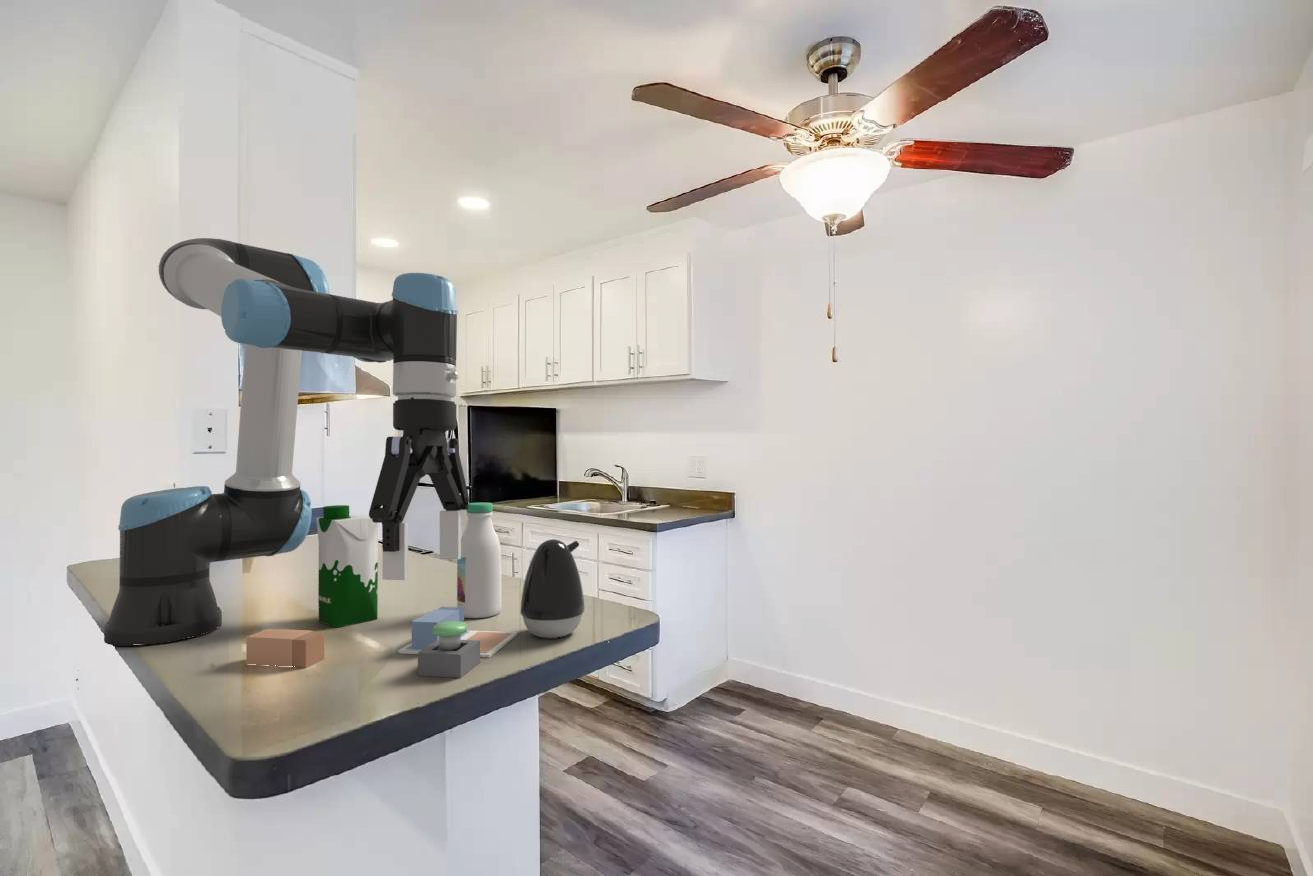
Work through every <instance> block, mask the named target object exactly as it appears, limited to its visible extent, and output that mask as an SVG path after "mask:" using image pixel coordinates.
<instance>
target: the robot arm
mask: <svg viewBox="0 0 1313 876" xmlns="http://www.w3.org/2000/svg"><path fill="white" fill-rule="evenodd" d="M158 263H159V264H158V276H159V280H160V282H161V284H162V286H163V287H164V289H165V290H166V291H167V292H168V294H170V295H171V296H172V297H174V299H176V300H178V301H179V302H180V303H182V304H184V305H186V306H189V307H191V308H193V309H199V310H207V311H210V312H212V313H214V314H216V315H217V316H219V317H220V319H221V325H222V327H223V329H224V333H225V335H226V336H227V338H228V339H229V340H230V341H232V342H235V343H236V344H244V355H243V357H244V358H243V369H242V370H243V371H242V384H241V396H240V397H241V398H240V410H239V411H240V412H239V421H238V422H239V425H238V437H237V438H238V439H237V453H236V464H235V465H236V466H235V467H236V468H235V472H234V473H233V474H232V475H231V476H229V477H228V478H227V479H225V481H224V486H223V487H224V489H223V492H222V493H213V492H212V490H211V488H210V487H209V486H206V485H204V486H203V485H202V486H201V485H200V486H198V485H197V486H196V485H195V486H188V487H178V488H170V489H163V490H157V491H151V492H146V493H140V494H137V495H134V496H130V497H129V498H127V499H126V500H125V501H124V502H122V505H121V507H120V517H119V525H118V527H117V529H118V531H119V589H118V593H117V596H116V598H115V601H114V603H113V607H112V609H111V613H110V616H109V620H108V621H107V622H106V623H105V624H104V628H103V629H104V630H103V637H104V638H103V642H104V643H105V644H107V645H111V646H116V647H117V646H118V647H134V646H133V644H150V645H157V643H159V644H164V643H163V642H166V643H170V642H169V641H172V642H177V640H178V641H181V640H180V639H183V638H187V639H189V638H188V637H191V638H193V637H192V636H195V637H199V636H202V635H204V634H203V633H206V632H208V633H211V632H213V631H215V630H214V629H216V628H217V627H219V628H221V626H222V625H221V624H223V623H222V622H223V621H222V619H223V618H222V617H223V611H222V609H221V607H220V606H218V603H217V599H216V598H217V597H216V595H215V593H214V589H213V586H212V584H211V580H210V566H211V563H215V562H224V561H233V560H240V559H249V558H250V559H251V558H257V557H274V556H275V555H281V554H287V553H291V552H293V551H295V550H296V549H297V548H299V547H300V546H301V545H302V544H303V542H304V541H305V539H306V538H307V535H308V534H309V530H310V528H311V524H312V517H313V516H312V513H313V512H312V511H313V509H312V507H311V503H312V502H311V501H312V500H311V498H310V496H309V494H308V493H307V492H306V491H305V490H304V489H301V481H299V480H298V479H297V478H296V477H295V476H294V475H293V466H294V465H293V464H294V455H295V454H294V453H295V452H294V450H295V440H296V426H297V416H298V415H297V414H298V403H299V394H300V393H299V392H300V391H299V390H300V378H301V370H302V369H301V368H302V367H301V366H302V355H303V352H311V353H312V352H313V353H321V354H327V355H334V356H335V355H337V356H343V357H344V356H345V357H352V358H354V359H355V360H356V359H357V360H358V361H361V362H364V363H379V364H381V363H386V362H387V361H388V362H390V361H392V360H393V363H392V369H393V371H392V395H393V396H394V397H397V400H394V402H392V426H393V428H394V429H395V431H402V432H403V433H402V436H387V437H386V439H385V449H384V458H383V461H382V465H381V468H380V472H379V475H378V479H377V481H376V485H375V489H374V493H373V497H372V499H371V500H372V501H371V503H370V506H369V512H368V516H369V517H370V518H371V519H372V521H373V522H374V523H380V524H381V528H382V529H381V531H382V532H381V535H382V536H381V537H382V541H381V542H382V543H381V547H382V580H384V581H386V580H387V581H389V580H390V581H406V580H408V579H409V522H408V521H407V522H406V521H405V522H404V519H405V517H406V514H407V511H408V509H409V507H410V505H411V502H412V500H413V497H414V496H415V493H416V490H417V488H418V486H419V482H420V481H421V479H422V478H424V477H425V476H427V475H428V476H429V478H430V480H431V483H432V484H433V488H434V489H435V492H436V494H437V497H438V499H439V502H440V504H441V506H442V507H443V510H439V560H458V559H461V538H462V511H466V510H467V509H468V507H469V502H470V496H469V492H468V488H467V484H466V479H465V475H464V469H463V464H462V461H461V457H460V446H459V445H460V444H459V439H458V438H456V437H453V438H452V437H447V435H446V432H447V431H448V432H449V431H454V430H456V428H457V403H455V401H452V399H453V398H454V397H456V396H457V380H458V379H459V374H458V372H457V341H458V340H457V336H458V335H457V334H458V333H457V332H458V331H457V330H458V329H457V328H458V326H457V325H458V313H459V311H458V308H457V300H456V298H457V297H456V287H455V284H454V283H453V281H451V280H449V279H448V278H447V277H444V276H442V275H437V274H432V273H426V272H425V273H424V272H408V273H402V274H399V275H397V276H395V279H394V280H393V286H392V292H391V297H392V299H391V300H388V301H384V302H376V301H375V302H374V301H369V300H364V299H357V298H353V297H346V296H343V295H342V296H341V295H335V294H330V289H329V283H328V280H327V277H326V275H325V274H324V271H323V269H322V267H321V266H320V265H319V264H317V263H316V262H315V261H314V260H312V259H308V258H306V257H303V256H302V257H301V256H298V255H295V254H293V253H289V252H288V253H287V252H283V251H282V252H281V251H278V250H272V249H268V248H262V247H259V246H258V247H257V246H252V245H248V244H244V243H239V242H235V241H231V240H227V239H221V238H211V237H210V238H209V237H208V238H207V237H200V238H198V237H197V238H189V239H187V240H183V241H180V242H177V243H174V245H172V246H170V247H169V248H168V249H166V251H165V252H163V255H162V256H161V258H160V261H159V262H158ZM461 510H462V511H461ZM217 629H218V628H217ZM217 629H216V630H217ZM212 630H213V631H212ZM210 631H211V632H210ZM201 634H202V635H201ZM206 634H207V633H206ZM198 635H199V636H198ZM183 640H184V639H183Z"/></svg>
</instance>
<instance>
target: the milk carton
mask: <svg viewBox="0 0 1313 876" xmlns="http://www.w3.org/2000/svg"><path fill="white" fill-rule="evenodd" d="M322 509H323V511H322V512H323V514H322V515H323V516H322V517H320V516H319V517H316V519H315V520H316V528H317V529H316V531H317V539H318V585H317V586H318V595H317V596H318V597H317V598H318V600H317V601H318V622H321V623H324V624H327V625H328V626H331V627H333V628H341V627H346V626H351V625H357V624H361V623H366V622H371V621H373V620H378V603H379V602H378V593H379V592H378V591H379V590H378V588H379V587H378V586H379V585H378V578H379V577H378V576H379V574H378V573H379V571H378V570H379V569H378V568H379V567H378V566H379V565H378V564H379V562H378V561H379V558H378V557H379V534H380V533H379V532H380V524H381V523H374V522H373V521H372V519H371V518H370V517H369V514H368V515H365V514H354V515H353V514H352V515H351V514H350V505H345V504H344V505H343V504H341V505H325V506H323V507H322Z"/></svg>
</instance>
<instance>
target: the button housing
mask: <svg viewBox="0 0 1313 876" xmlns="http://www.w3.org/2000/svg"><path fill="white" fill-rule="evenodd" d="M480 663H481V657H480V641H476V640H461V646H460V647H459V648H456V649H451V650H443V649H440V648H439V640H437V641H436V642H434V643H433V644H431V645H429V646H428V647H426V648H425V649H423V650H421V651H420V652H418V654H417V676H419V677H420V676H422V677H437V678H438V677H439V678H441V677H442V678H456V679H457V678H459V679H461V678H463V677H465V675H466V674H467V673H470V671H471V670H473V669H474V668H475V667H476V666H477V665H479V664H480Z"/></svg>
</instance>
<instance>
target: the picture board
mask: <svg viewBox="0 0 1313 876" xmlns="http://www.w3.org/2000/svg"><path fill="white" fill-rule="evenodd" d="M517 636H518V632H517V631H513V632H512V631H493V630H491V631H490V630H469V629H467V631H466V632H465V633H463V634H461V640H476V641H480V658H488V659H489V658H491V657H492V656H494V655H495V654H496V653H497V652H498V651H499V650H501V649H502V648H503V647H504V646H506V645H508V643H509V642H510V641H512V640H514V638H516V637H517ZM421 650H423V649H412V642H410V643H408V644H407V645H406V646H404V647H402V648H400V649H398V650H397V652H398V654H404V655H405V654H406V655H418V652H420V651H421Z"/></svg>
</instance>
